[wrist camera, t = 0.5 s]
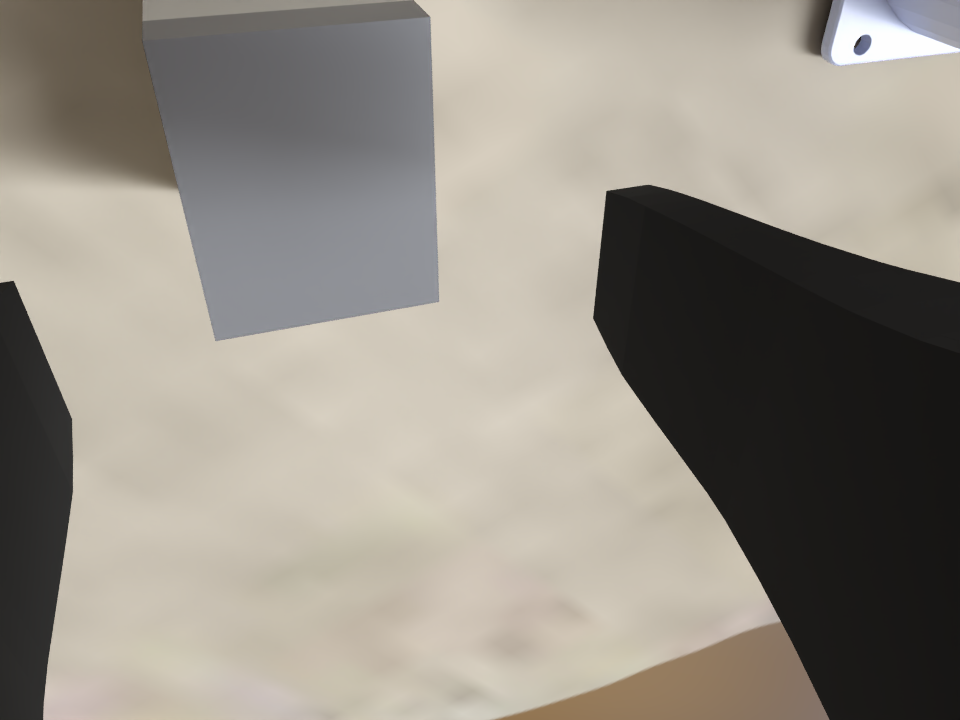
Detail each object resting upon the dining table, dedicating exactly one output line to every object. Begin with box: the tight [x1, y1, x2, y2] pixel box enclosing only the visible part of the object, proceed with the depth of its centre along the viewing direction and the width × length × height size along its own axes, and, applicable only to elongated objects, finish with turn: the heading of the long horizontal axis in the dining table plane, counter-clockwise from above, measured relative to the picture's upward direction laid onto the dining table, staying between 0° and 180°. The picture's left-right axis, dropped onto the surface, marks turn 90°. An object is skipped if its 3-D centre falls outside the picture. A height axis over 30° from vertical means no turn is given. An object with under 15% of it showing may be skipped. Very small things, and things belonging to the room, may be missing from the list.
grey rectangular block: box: [142, 0, 439, 341], centre depth 15 cm, size 4×5×6 cm
